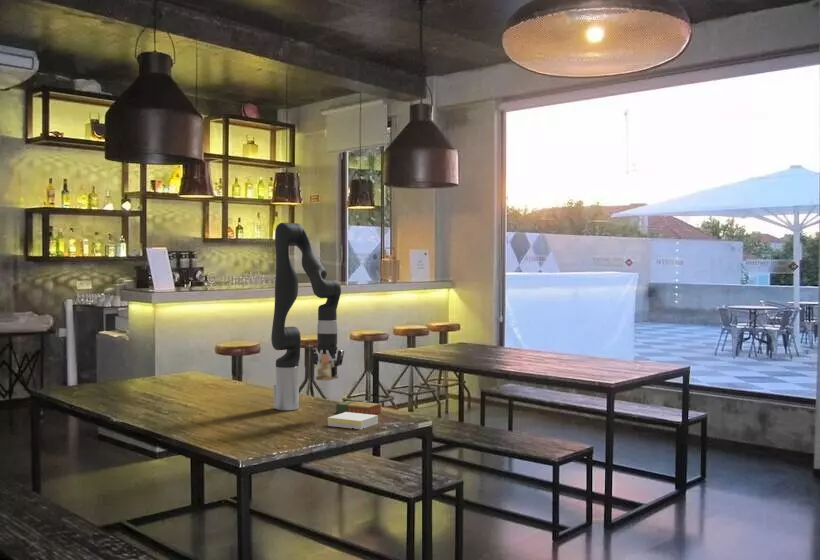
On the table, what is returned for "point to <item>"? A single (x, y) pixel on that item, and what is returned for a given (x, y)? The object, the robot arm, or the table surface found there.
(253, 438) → the table surface
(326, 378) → the wooden stepped block
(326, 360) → the block
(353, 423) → the dock
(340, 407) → the carton
